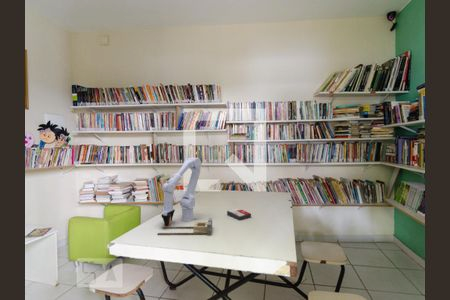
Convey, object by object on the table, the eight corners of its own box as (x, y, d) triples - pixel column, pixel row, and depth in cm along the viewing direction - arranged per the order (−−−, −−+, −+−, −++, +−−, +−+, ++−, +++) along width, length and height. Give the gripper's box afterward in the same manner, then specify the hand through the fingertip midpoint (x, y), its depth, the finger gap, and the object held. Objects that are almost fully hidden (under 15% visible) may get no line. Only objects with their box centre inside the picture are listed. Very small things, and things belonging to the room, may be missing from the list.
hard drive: (239, 215, 143) (226, 209, 155) (239, 222, 143) (226, 215, 155) (251, 213, 149) (238, 207, 161) (251, 219, 149) (238, 212, 161)
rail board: (163, 229, 127) (163, 218, 127) (212, 229, 126) (212, 217, 127) (156, 238, 115) (156, 225, 115) (210, 237, 114) (210, 224, 115)
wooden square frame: (195, 228, 125) (195, 222, 125) (208, 228, 125) (208, 222, 125) (193, 234, 117) (193, 227, 117) (207, 234, 116) (207, 227, 117)
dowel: (166, 226, 132) (166, 214, 132) (171, 226, 132) (171, 213, 132) (165, 228, 129) (165, 215, 129) (170, 228, 129) (170, 215, 129)
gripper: (165, 199, 138) (165, 219, 138) (158, 205, 123) (158, 227, 123) (175, 199, 138) (176, 219, 138) (170, 204, 123) (170, 227, 123)
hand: (168, 223), depth 131 cm, fingers open, 7 cm apart
